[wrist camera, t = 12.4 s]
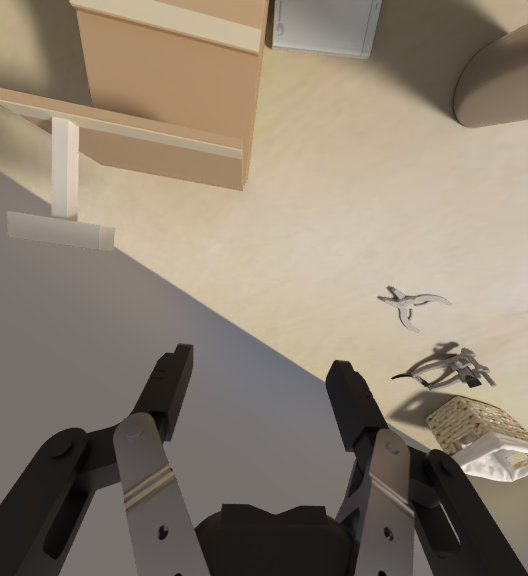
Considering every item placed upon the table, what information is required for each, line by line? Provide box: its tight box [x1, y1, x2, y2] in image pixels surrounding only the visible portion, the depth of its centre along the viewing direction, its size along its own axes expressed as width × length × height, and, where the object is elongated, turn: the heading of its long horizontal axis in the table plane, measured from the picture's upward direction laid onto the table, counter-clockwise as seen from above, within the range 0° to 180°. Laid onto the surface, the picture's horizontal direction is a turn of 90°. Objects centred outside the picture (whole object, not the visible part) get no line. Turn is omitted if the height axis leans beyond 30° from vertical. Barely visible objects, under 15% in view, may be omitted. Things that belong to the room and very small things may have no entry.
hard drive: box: [272, 0, 382, 60], centre depth 25 cm, size 2×8×12 cm
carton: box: [69, 0, 269, 185], centre depth 20 cm, size 16×22×19 cm
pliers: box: [382, 287, 452, 333], centre depth 48 cm, size 10×2×15 cm
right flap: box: [0, 88, 243, 250], centre depth 20 cm, size 16×11×9 cm
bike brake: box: [391, 348, 496, 391], centre depth 58 cm, size 14×7×20 cm
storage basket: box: [425, 396, 528, 482], centre depth 65 cm, size 24×16×15 cm
